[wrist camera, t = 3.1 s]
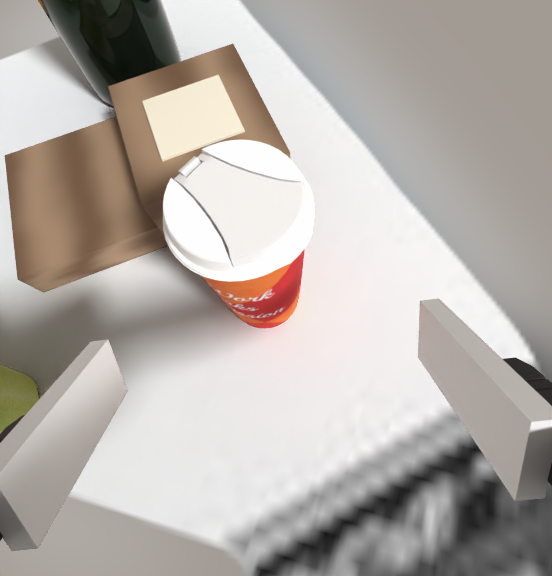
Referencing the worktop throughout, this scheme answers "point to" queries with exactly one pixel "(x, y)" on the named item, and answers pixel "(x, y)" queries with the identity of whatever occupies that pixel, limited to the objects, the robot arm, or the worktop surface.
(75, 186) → the step riser
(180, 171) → the paper cup
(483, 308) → the worktop surface
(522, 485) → the robot arm
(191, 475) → the worktop surface
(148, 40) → the dark green wine bottle
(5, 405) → the plant pot
